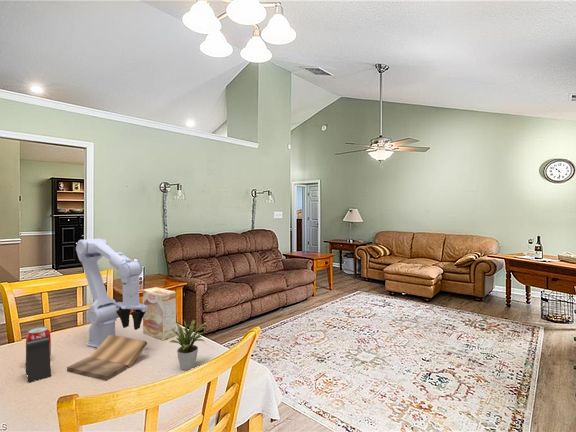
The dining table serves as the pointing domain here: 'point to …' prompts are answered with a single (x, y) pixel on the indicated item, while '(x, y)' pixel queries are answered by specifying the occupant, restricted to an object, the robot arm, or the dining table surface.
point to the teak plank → (119, 350)
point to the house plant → (187, 345)
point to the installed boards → (96, 368)
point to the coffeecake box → (159, 313)
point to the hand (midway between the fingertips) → (131, 327)
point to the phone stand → (38, 359)
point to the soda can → (39, 335)
